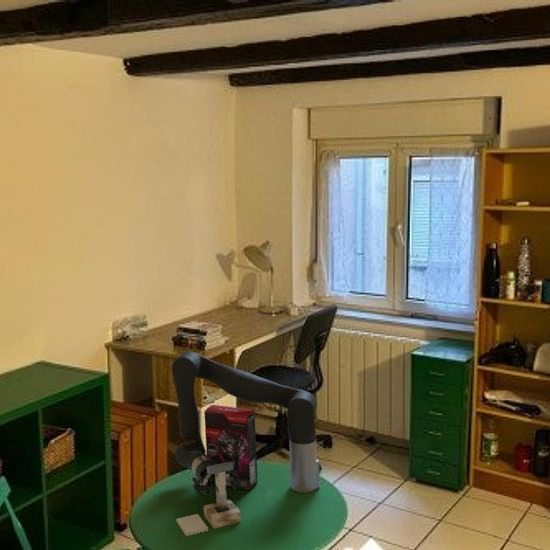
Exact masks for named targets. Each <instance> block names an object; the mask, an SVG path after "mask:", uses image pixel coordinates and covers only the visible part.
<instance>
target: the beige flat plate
mask: <svg viewBox="0 0 550 550" xmlns="http://www.w3.org/2000/svg"><path fill="white" fill-rule="evenodd" d="M175 521H176V523H177V525H178V526H179V528H180V529H181V531H182V532H183V534H184V535H185V537H189V535H190V536H193V534H194V535H197V533H198V534H200V532H202V533H205V532H204V531H206V532H208V531H209V527H208V526H207V524H206V523H205V522H204V520H203V519H202V518H201V516H200V515H199V514H198V513H196V514H191V515H186V516H184V517H183V516H182V517H177V518H176V519H175Z"/></svg>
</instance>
